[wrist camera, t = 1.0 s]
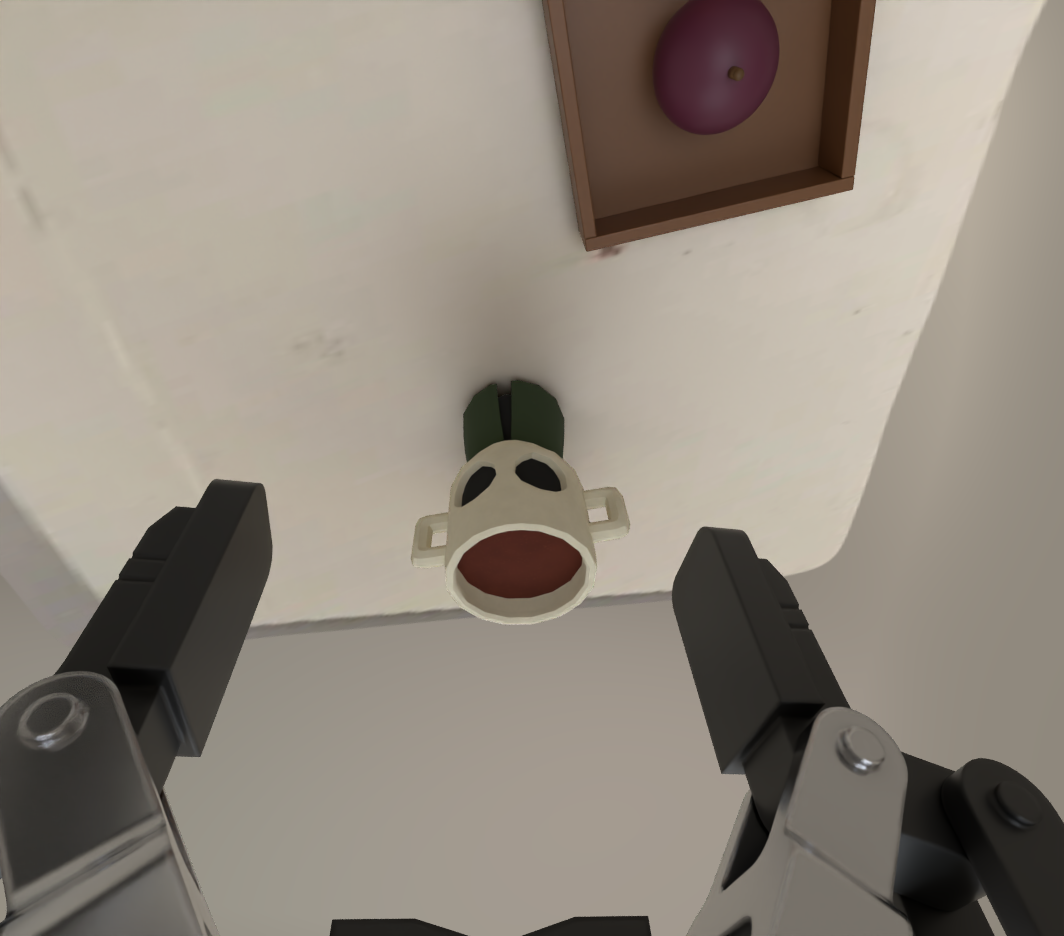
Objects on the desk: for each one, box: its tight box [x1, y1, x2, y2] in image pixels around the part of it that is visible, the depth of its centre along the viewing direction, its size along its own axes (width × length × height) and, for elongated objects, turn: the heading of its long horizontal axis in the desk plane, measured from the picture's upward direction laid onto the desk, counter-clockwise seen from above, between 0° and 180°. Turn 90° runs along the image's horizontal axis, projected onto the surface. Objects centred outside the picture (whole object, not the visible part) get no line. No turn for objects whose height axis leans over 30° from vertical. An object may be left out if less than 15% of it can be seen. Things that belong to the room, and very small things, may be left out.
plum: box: [652, 0, 780, 135], centre depth 23 cm, size 5×5×6 cm
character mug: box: [411, 380, 630, 625], centre depth 32 cm, size 11×7×13 cm, turn 99°
